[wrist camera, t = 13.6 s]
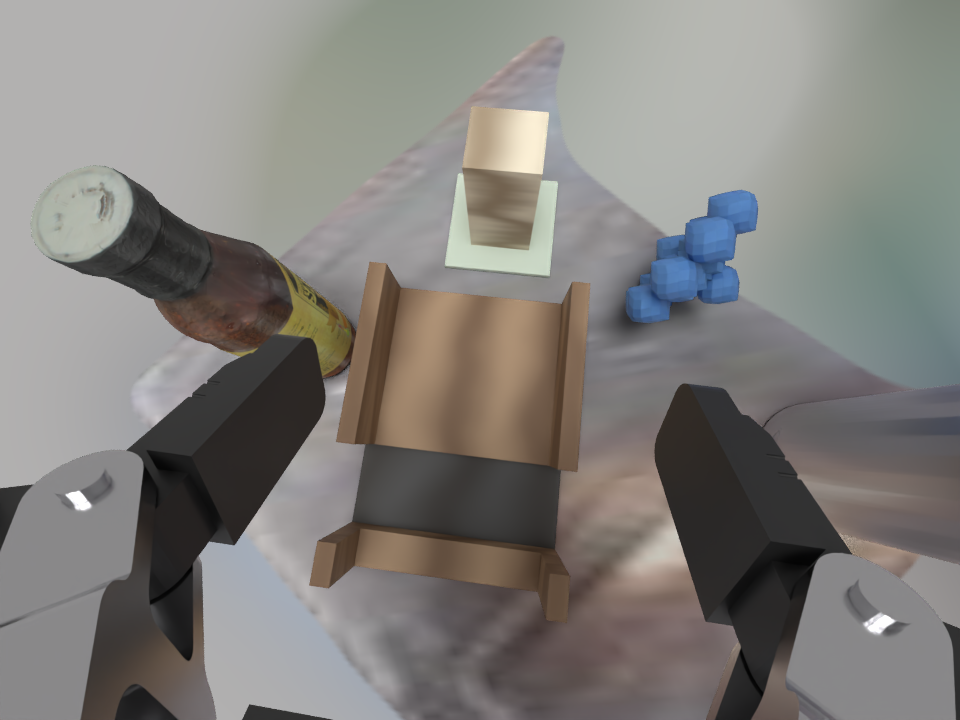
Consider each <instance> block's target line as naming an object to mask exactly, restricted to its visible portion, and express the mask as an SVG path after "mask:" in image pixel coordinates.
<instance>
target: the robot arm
mask: <svg viewBox="0 0 960 720" xmlns="http://www.w3.org/2000/svg"><path fill="white" fill-rule="evenodd" d="M192 394H193V395H192V397H188V398H186V399H185V400H184V401H183V402H182V403H181V404H180V405H178V406H177V407H176V408H175V409H174V410H173V411H171V412H170V413H169V414H168V415H167V416H166V417H164V418H163V419H162V420H161V421H160V422H159V423H158V424H156V425H155V426H154V427H153V428H152V429H151V430H150V431H148V432H147V433H146V434H145V435H144V436H143V437H141V438H140V439H139V440H138V441H137V442H136V443H134V444H133V445H132V446H131V447H130V448H129V449H127V450H126V451H125V450H109V451H101V452H97V453H92V454H89V455H86V456H82V457H80V458H77V459H75V460H72V461H70V462H68V463H66V464H64V465H62V466H60V467H58V468H56V469H54V470H53V471H51V472H50V473H48V474H47V475H45V476H44V477H42V478H41V479H40V480H39V481H37V482H36V483H35V484H34V485H25V486H17V487H9V488H0V720H216V712H215V706H214V701H213V697H212V693H211V690H210V687H209V684H208V681H207V677H206V672H205V664H204V632H203V589H202V563H201V560H200V558H199V554H200V553H201V551H202V550H203V549H204V548H205V546H206V545H207V543H208V542H209V541H210V542H216V543H223V544H229V545H235V544H236V542H237V541H238V539H239V538H240V536H241V535H242V533H243V532H244V530H245V529H246V528H247V526H248V525H249V523H250V522H251V520H252V519H253V517H254V516H255V514H256V513H257V511H258V510H259V508H260V507H261V505H262V504H263V502H264V501H265V499H266V498H267V496H268V495H269V493H270V492H271V490H272V489H273V487H274V486H275V484H276V483H277V481H278V480H279V479H280V477H281V476H282V474H283V473H284V471H285V470H286V468H287V467H288V465H289V464H290V462H291V461H292V459H293V458H294V456H295V455H296V453H297V452H298V450H299V449H300V447H301V446H302V444H303V443H304V441H305V440H306V438H307V437H308V435H309V434H310V433H311V431H312V430H313V428H314V427H315V425H316V424H317V422H318V421H319V419H320V417H321V415H322V413H323V410H324V406H325V397H326V396H325V388H324V383H323V378H322V373H321V367H320V362H319V357H318V352H317V347H316V344H315V342H314V340H313V339H311V338H308V337H300V336H292V335H283V334H274V335H272V336H271V337H270V338H269V339H268V340H266V341H265V342H264V343H263V344H262V345H261V346H260V347H259V348H258V349H257V350H255V351H254V352H253V353H248V354H246V355H244V356H242V357H240V358H238V359H236V360H234V361H232V362H230V363H228V364H226V365H225V366H223V367H222V368H221V369H220V370H219V371H218V372H217V373H215V374H214V375H213V376H212V377H211V378H210V379H208V382H207V384H203V385H201V386H200V387H199V388H198V389H197V390H196V391H195V392H193V393H192ZM655 462H656V466H657V469H658V473H659V476H660V479H661V482H662V485H663V488H664V492H665V495H666V498H667V501H668V504H669V507H670V510H671V514H672V517H673V520H674V523H675V526H676V529H677V532H678V536H679V539H680V542H681V545H682V548H683V551H684V555H685V558H686V561H687V564H688V567H689V570H690V573H691V577H692V580H693V583H694V586H695V589H696V592H697V596H698V599H699V602H700V605H701V608H702V611H703V614H704V618H705V621H706V622H712V623H718V624H725V625H731V626H733V627H734V629H735V632H736V635H737V638H738V640H739V642H738V643H737V644H736V645H735V647H734V648H733V650H732V652H731V654H730V657H729V660H728V662H727V665H726V668H725V670H724V673H723V675H722V678H721V681H720V683H719V686H718V689H717V691H716V694H715V697H714V699H713V702H712V705H711V707H710V710H709V713H708V715H707V718H706V720H960V629H959V628H957V627H955V626H952V625H950V624H947V623H945V622H942V621H941V619H940V618H939V617H938V615H937V614H936V612H935V611H934V610H933V609H932V608H931V606H930V605H929V604H928V603H927V602H926V601H925V600H924V599H923V598H922V597H921V596H920V595H919V594H918V593H917V592H916V591H915V590H913V589H912V588H911V587H910V586H909V585H908V584H906V583H905V582H904V581H902V580H901V579H900V578H898V577H897V576H895V575H894V574H892V573H891V572H889V571H887V570H886V569H884V568H882V567H880V566H879V565H877V564H875V563H873V562H870V561H868V560H866V559H863V558H861V557H857V556H854V555H852V553H851V552H850V550H849V549H848V547H847V546H846V544H845V543H844V541H843V540H842V539H841V537H840V536H839V534H838V533H841V534H844V535H848V536H852V537H855V538H859V539H863V540H866V541H870V542H874V543H878V544H882V545H886V546H889V547H893V548H897V549H901V550H905V551H909V552H913V553H916V554H920V555H924V556H928V557H932V558H936V559H939V560H943V561H947V562H951V563H955V564H959V565H960V384H955V385H947V386H939V387H932V388H923V389H915V390H908V391H900V392H892V393H884V394H876V395H868V396H861V397H853V398H843V399H836V400H828V401H820V402H812V403H805V404H797V405H794V406H791V407H788V408H785V409H784V410H782V411H780V412H778V413H777V414H775V415H774V416H773V417H772V418H771V419H770V420H769V421H768V422H767V424H766V425H765V427H764V429H763V428H762V427H761V426H760V425H758V424H757V423H756V422H755V421H754V420H753V419H751V418H750V417H749V416H748V415H741V413H740V412H739V410H738V409H737V407H736V405H735V404H734V402H733V401H732V399H731V398H730V396H729V394H728V393H727V392H726V390H724V389H723V388H718V387H709V386H701V385H693V384H682V385H680V387H679V388H678V389H677V391H676V393H675V395H674V398H673V400H672V402H671V405H670V407H669V409H668V412H667V414H666V416H665V419H664V421H663V423H662V426H661V428H660V430H659V433H658V435H657V438H656V443H655ZM242 720H331V719H326V718H321V717H315V716H310V715H304V714H299V713H293V712H288V711H282V710H277V709H271V708H265V707H261V706H255V705H249V707H248V709H247V711H246V713H245V715H244V717H243V719H242Z"/></svg>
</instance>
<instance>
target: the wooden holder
mask: <svg viewBox="0 0 960 720" xmlns="http://www.w3.org/2000/svg"><path fill="white" fill-rule="evenodd" d="M589 294H590V283H581V282H572V284H571V286H570V288H569V290H568V292H567V294H566V296H565V298H564V300H563V302H562V304H557V303H547V302H537V301H527V300H517V299H507V298H497V297H487V296H477V295H467V294H457V293H448V292H438V291H428V290H418V289H408V288H401V287H400V286H399V284H398V282H397V281H396V279H395V277H394V275H393V274H392V272H391V270H390V269H389V267H388V265H387V264H386V263H376V262H370V263H369V268H368V273H367V279H366V284H365V289H364V295H363V300H362V305H361V311H360V316H359V322H358V327H357V332H356V338H355V343H354V348H353V354H352V359H351V364H350V370H349V375H348V381H347V386H346V391H345V397H344V402H343V407H342V413H341V418H340V423H339V429H338V434H337V439H336V442H341V443H349V444H366V446H365V451H364V457H363V463H362V469H361V475H360V480H359V486H358V492H357V498H356V504H355V510H354V515H353V521H352V522H351V523H349V524H348V525H346V526H344V527H342V528H340V529H339V530H337V531H335V532H333V533H331V534H330V535H328V536H326V537H324V538H322V539H321V540H319V541H317V547H316V552H315V557H314V563H313V568H312V573H311V579H310V584H309V585H310V586H317V587H324V588H329V587H331V586H332V585H333V584H334V583H335V582H336V581H337V580H339V579H340V578H341V577H342V576H343V575H344V574H345V573H347V572H348V571H349V570H350V569H351V568H352V567H353V566H359V567H366V568H373V569H381V570H388V571H395V572H402V573H409V574H416V575H423V576H430V577H437V578H444V579H451V580H458V581H465V582H472V583H479V584H486V585H493V586H500V587H507V588H514V589H521V590H528V591H535V592H538V594H539V597H540V601H541V604H542V608H543V611H544V614H545V618H546V620H550V621H557V622H564V623H567V615H568V600H569V586H570V575H569V573H568V572H567V570H566V568H565V566H564V565H563V563H562V561H561V559H560V558H559V556H558V554H557V552H556V551H555V538H556V525H557V512H558V499H559V486H560V473H561V470H566V471H574V472H577V469H578V455H579V440H580V425H581V411H582V396H583V382H584V367H585V353H586V338H587V324H588V309H589Z"/></svg>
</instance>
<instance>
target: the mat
mask: <svg viewBox="0 0 960 720" xmlns="http://www.w3.org/2000/svg"><path fill="white" fill-rule="evenodd" d="M557 187H558V182H554V181H542V180H541V185H540V190H539V196H538V202H537V207H536V213H535V218H534V224H533V229H532V235H531V240H530V246H529V250H520V249H510V248H499V247H489V246H479V245H471V239H470V230H469V221H468V212H467V204H466V195H465V186H464V177H463V174H459V173H458V178H457V185H456V192H455V199H454V206H453V213H452V219H451V226H450V233H449V240H448V247H447V254H446V260H445V268H455V269H465V270H475V271H485V272H496V273H506V274H516V275H527V276H537V277H547V278H549V276H550V265H551V254H552V243H553V232H554V221H555V210H556V198H557Z"/></svg>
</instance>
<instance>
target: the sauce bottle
mask: <svg viewBox="0 0 960 720" xmlns="http://www.w3.org/2000/svg"><path fill="white" fill-rule="evenodd" d="M31 229H32V238H33V239H34V241H35V245H36V246H37V247H38V248H39V250H40V251H41V252H42V253H43V254H44V255H45V256H47V257H48V258H50V259H51V260H54V261H56V262H58V263H60V264H63V265H65V266H67V267H69V268H71V269H74V270H76V271H79V272H81V273H83V274H88V275H92V276H98V277H106V278H109V279H111V280H114V281H116V282H119V283H121V284H123V285H125V286H127V287H130V288H132V289H135V290H136V291H137V292H138V293H140V294H141V295H144V296H146V297H148V298H152V299H154V301H155V303H156V306H157V307H158V309H159V311H160V312H161V313H162V315H163V316H164V317H165V319H166V320H167V321H168V322H169V323H170V324H171V325H172V326H173V327H174V328H176V329H177V330H178V331H180V332H181V333H183V334H185V335H186V336H189V337H191V338H193V339H195V340H197V341H201V342H204V343H210V344H212V345H214V346H215V347H217V348H219V349H220V350H223V351H226V352H229V353H232V354H235V355H237V356H240V357H242V356H244V355H246V354H248V353H253V352H254V351H255V350H257V349H258V348H259V347H260V346H261V345H262V344H263V343H264V342H265V341H266V340H268V339H269V338H270V337H271V336H272V335H274V334H283V335H292V336H300V337H308V338H311V339H313V340H314V342H315V344H316V347H317V352H318V357H319V362H320V367H321V373H322V378H326V377H330V376H333V375H336V374H338V373H340V372H341V371H342V370H343V369H344V368H346V366H347V365H348V364H349V363H350V361H351V359H352V354H353V348H354V343H355V338H356V336H355V330H354V328H353V327H352V325H351V324H350V322H349V321H348V320H347V318H346V317H345V315H344V314H343V313H342V312H341V311H340V310H339V309H337V308H336V307H335V306H334V305H332V304H331V303H330V302H329V301H327V300H326V299H325V298H324V297H323V296H321V295H320V294H319V293H318V292H316V291H315V290H314V289H313V288H312V287H310V286H309V285H308V284H307V283H306V282H304V281H303V280H302V279H301V278H300V277H298V276H297V275H296V274H294V273H293V272H292V271H290V270H289V269H288V268H287V267H285V266H284V265H283V264H282V263H280V262H279V261H278V260H277V259H276V258H274V257H273V256H272V255H270V254H269V253H268V252H266V251H265V250H264V249H263V248H261V247H259V246H258V245H256V244H254V243H250V242H246V241H241V240H237V239H233V238H229V237H226V236H222V235H218V234H214V233H210V232H206V231H203V230H200V229H198V228H196V227H194V226H192V225H190V224H188V223H186V222H184V221H183V220H182V219H180V218H179V217H177V216H175V215H174V214H173V213H171V212H170V211H169V210H168V209H166V208H165V207H163V206H162V205H160V204H159V202H158V201H157V200H156V199H155V197H154V196H153V194H152V193H151V192H149V191H148V190H146V189H145V188H144V187H142V186H141V185H140V184H138V183H136V182H134V181H133V180H131V179H130V178H128V177H127V176H126V175H124V174H122V173H120V172H118V171H116V170H115V169H112V168H109V167H106V166H89V167H84V168H80V169H76V170H74V171H72V172H70V173H67V174H66V175H64V176H62V177H60V178H59V179H57V180H56V181H55V182H53V183H51V184H50V185H49V186H48V187H47V188H46V189H45V190H44V192H43V193H42V194H41V195H40V197H39V199H38V201H37V203H36V205H35V207H34V210H33V213H32V219H31Z"/></svg>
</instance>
